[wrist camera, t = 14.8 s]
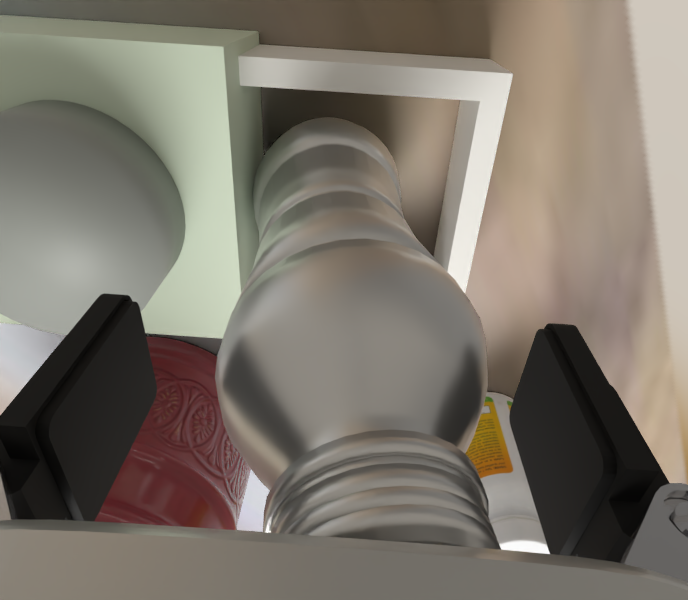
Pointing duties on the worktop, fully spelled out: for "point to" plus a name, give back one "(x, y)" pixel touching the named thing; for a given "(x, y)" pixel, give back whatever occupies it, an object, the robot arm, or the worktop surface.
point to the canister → (180, 450)
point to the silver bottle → (353, 355)
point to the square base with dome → (182, 161)
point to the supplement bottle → (505, 479)
